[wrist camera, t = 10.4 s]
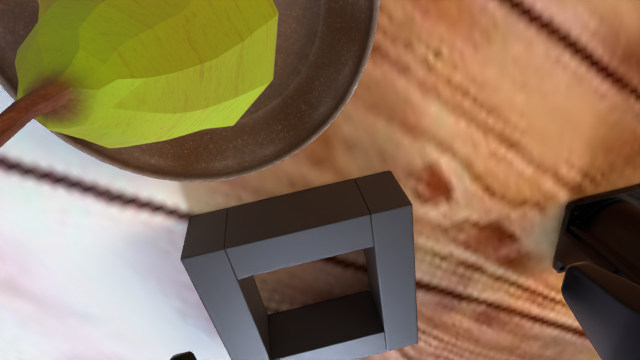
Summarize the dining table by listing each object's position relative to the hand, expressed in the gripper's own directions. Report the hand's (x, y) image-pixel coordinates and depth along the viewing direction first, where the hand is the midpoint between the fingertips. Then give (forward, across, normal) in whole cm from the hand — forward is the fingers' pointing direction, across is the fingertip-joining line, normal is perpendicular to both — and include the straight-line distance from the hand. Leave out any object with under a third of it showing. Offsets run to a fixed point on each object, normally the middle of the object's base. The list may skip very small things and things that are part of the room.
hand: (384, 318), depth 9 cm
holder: (+13, +2, +10) cm, 16 cm away
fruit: (+10, +4, -6) cm, 12 cm away
